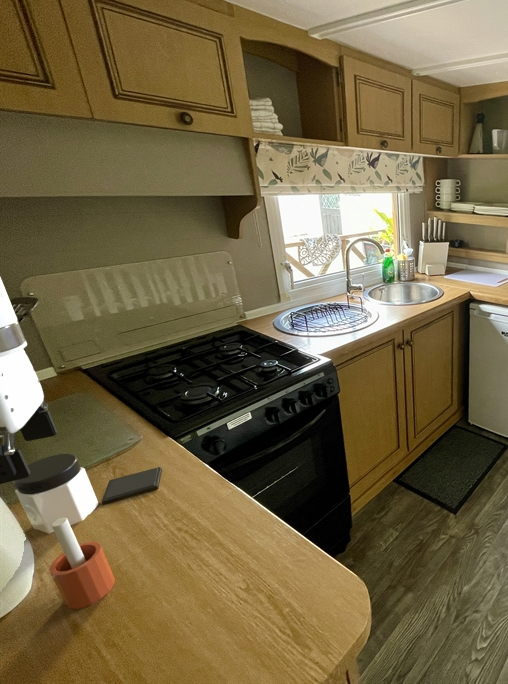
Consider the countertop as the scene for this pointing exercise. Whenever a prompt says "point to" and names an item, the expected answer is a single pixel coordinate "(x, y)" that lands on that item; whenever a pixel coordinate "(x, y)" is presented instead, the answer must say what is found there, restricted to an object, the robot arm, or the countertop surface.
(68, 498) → the jar
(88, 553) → the pen pot
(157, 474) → the tablet
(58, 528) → the stylus
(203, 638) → the countertop surface
